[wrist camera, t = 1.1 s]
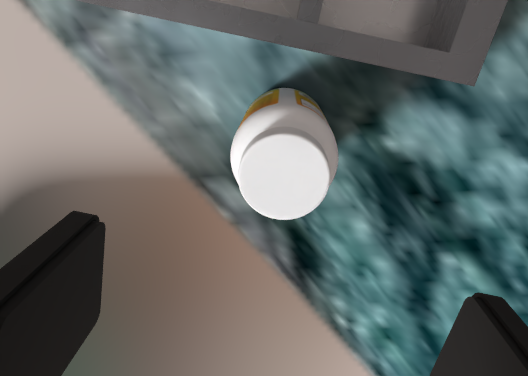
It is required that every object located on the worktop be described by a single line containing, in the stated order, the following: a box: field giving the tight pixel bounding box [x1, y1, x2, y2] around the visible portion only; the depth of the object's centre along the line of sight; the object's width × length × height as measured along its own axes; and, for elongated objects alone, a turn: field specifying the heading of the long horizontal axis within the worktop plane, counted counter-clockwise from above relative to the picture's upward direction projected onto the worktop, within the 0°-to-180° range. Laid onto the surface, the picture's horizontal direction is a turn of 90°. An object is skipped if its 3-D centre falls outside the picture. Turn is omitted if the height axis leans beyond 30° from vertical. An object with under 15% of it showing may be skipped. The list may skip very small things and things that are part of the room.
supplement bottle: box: [230, 88, 338, 220], centre depth 21 cm, size 5×5×10 cm
